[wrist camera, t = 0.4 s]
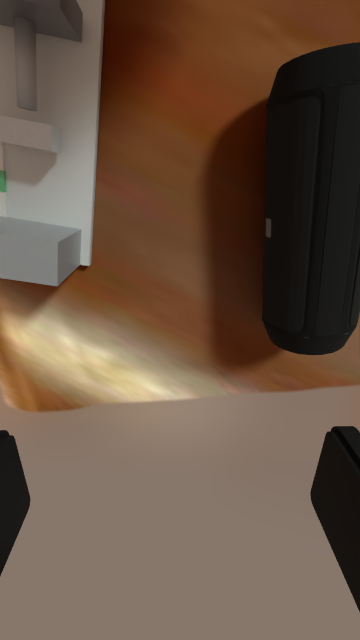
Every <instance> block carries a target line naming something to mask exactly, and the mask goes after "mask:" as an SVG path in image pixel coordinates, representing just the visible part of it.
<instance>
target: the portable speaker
mask: <svg viewBox="0 0 360 640" xmlns="http://www.w3.org/2000/svg"><path fill="white" fill-rule="evenodd" d="M266 107H267V134H266V180H265V227H264V274H263V314H262V320H263V323H264V325H265V328H266V330H267V333H268V335H269V338H270V340H271V341H272V342H273V343H274V344H275V345H276V346H278V347H280V348H282V349H284V350H287V351H290V352H293V353H297V354H305V355H323V354H328V353H333V352H335V351H338V350H339V349H341V348H342V347H343V346H344V345H345V343H346V342H347V340H348V339H349V337H350V336H351V334H352V332H353V331H354V329H355V328H356V326H357V322H358V318H359V312H360V42H359V43H350V44H343V45H337V46H333V47H328V48H324V49H320V50H316V51H313V52H310V53H307V54H304V55H301V56H299V57H297V58H294V59H292V60H290V61H289V62H287V63H285V64H283V65H282V66H281V67H280V68H279V69H278V72H277V74H276V77H275V81H274V84H273V87H272V90H271V93H270V96H269V99H268V102H267V106H266Z"/></svg>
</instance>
